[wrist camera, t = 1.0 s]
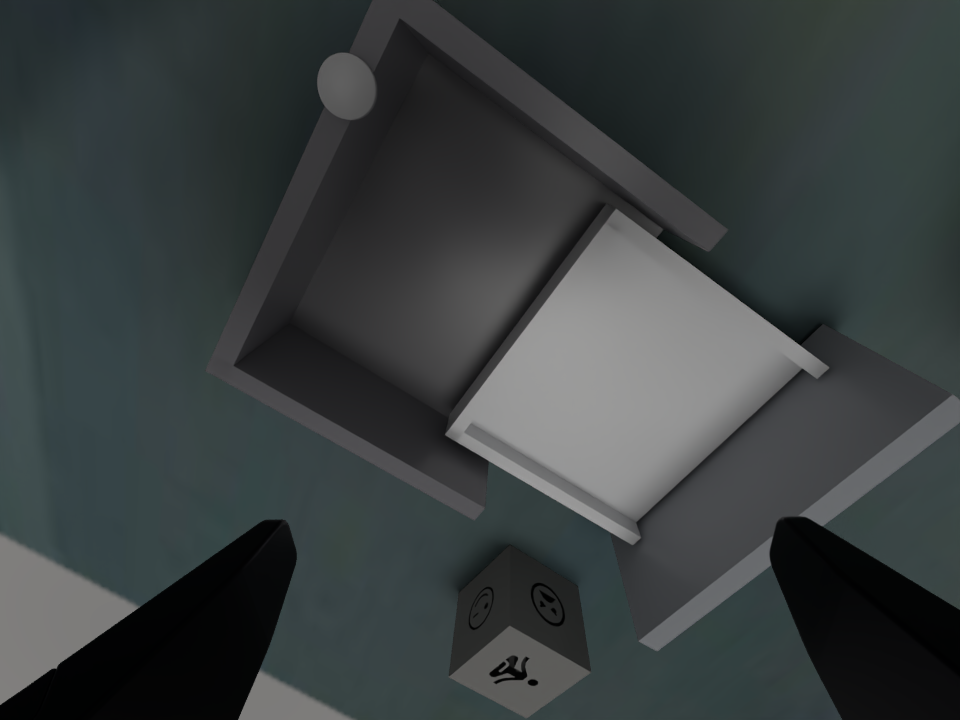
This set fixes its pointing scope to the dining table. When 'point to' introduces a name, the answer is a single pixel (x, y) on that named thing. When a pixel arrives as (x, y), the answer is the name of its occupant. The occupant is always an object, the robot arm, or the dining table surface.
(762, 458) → the tray
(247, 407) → the dining table surface
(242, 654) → the robot arm
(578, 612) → the dice cube
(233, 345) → the housing
